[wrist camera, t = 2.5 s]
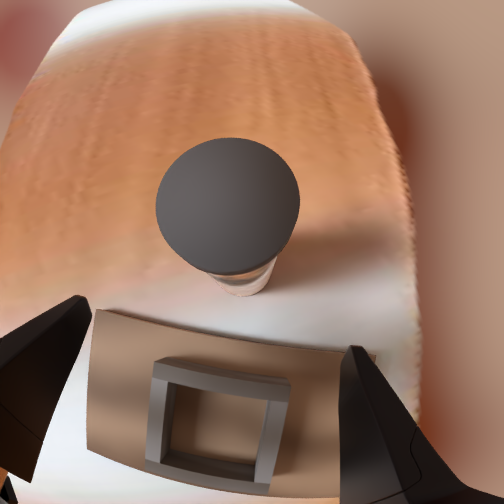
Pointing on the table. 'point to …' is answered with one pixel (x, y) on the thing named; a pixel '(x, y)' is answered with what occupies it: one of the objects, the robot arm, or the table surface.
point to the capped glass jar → (229, 211)
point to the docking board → (214, 409)
